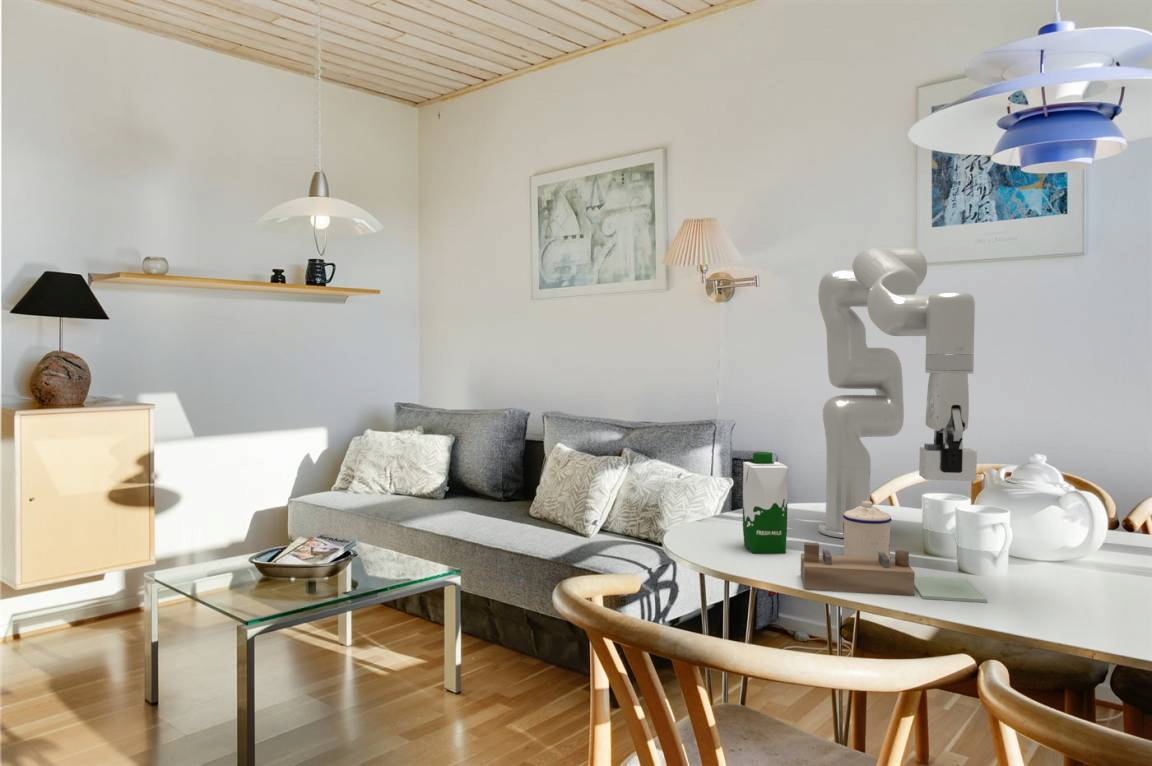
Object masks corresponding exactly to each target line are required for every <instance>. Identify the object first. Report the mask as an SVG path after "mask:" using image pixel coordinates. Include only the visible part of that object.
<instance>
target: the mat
mask: <svg viewBox="0 0 1152 766" xmlns="http://www.w3.org/2000/svg"><path fill="white" fill-rule="evenodd" d="M914 590H915V591H916V592H917V593H918V595H919V596H920V598H921V599H923V600H924V599H925V600H938V601H956V602H970V603H971V602H972V603H974V602H975V603H988V599H987V598H986V597H985V595H983V594H982V593H981V592H980V591H979V590H978V589H977V588H976V587H975V586H974V585H973V584H972V582H970V581H969V580H968V579H966V578H952V577H951V578H950V577H933V576H931V577H930V576H917V575H916V576H914Z"/></svg>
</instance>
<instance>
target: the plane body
mask: <svg viewBox="0 0 1152 766" xmlns="http://www.w3.org/2000/svg"><path fill="white" fill-rule="evenodd" d="M803 544H804V545H803V546H804V547H803V553H801V554H800V578H801V581H802V585H803V588H804V590H810V591H811V590H813V591H827V592H828V591H829V592H831V591H832V592H846V593H847V592H848V593H862V594H863V593H865V594H879V595H882V594H883V595H894V596H895V595H897V596H911V597H912V596H915V588H914V576H915V571H914V570H913V568H912V567H911V566H910V564H909V561H910V560H909V557H910V553H909V551H908V550H903V549H896V550H895V551H894V552H895V553H894V554H895V555H894V558H891V557H890V558H888V557H887V555H886V554H885V553H884V552H878V558H876V557H856V556H844V555H835V554H833V555H832V554H831V552H830V550H829V549H822V554H820V545H819V542H809V541H808V542H806V541H805V542H803Z"/></svg>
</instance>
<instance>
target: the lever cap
mask: <svg viewBox="0 0 1152 766" xmlns="http://www.w3.org/2000/svg"><path fill="white" fill-rule="evenodd" d="M942 449H944V444H934V443H924V446H920V447H919V462H918V463H919V470H918V472H919V473H918V474H919V476H920V477H922V478H923V479H924V480H926V481H927V480H928V481H958V482H962V481H963V482H977V465H978V464H977V460H978V459H977V458H978V451H976V450H973V449H971V448H966V447H965V448H964V447H963V448H962V449H963V454H962V472H961V473H947V472H942V471H941V450H942Z"/></svg>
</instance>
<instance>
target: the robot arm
mask: <svg viewBox="0 0 1152 766" xmlns="http://www.w3.org/2000/svg"><path fill="white" fill-rule="evenodd" d="M851 266H852V268H839V269H834V270H833V269H832V270H830V271H828V272H826V273H825V274H824V275H823V276H822V278H821V279H820V282H819V285H818V305H819V309H820V310H819V311H820V313H821V315H822V319H823V321H824V325H825V330H826V351H827V352H826V354H827V357H826V358H827V373H828V379H829V382H830V384H831V385H832V386H833V387H835V388H838V389H843V390H845V389H846V390H847V389H848V390H874V391H875V393H876V394H866V395H865V394H842V395H840V394H839V395H835V396H833V397H831V398H828V399H827V401H826V402H824V404H823V407H822V422H823V426H824V433H825V443H826V444H825V447H826V448H825V449H826V482H825V483H826V484H825V485H826V489H825V490H826V491H825V492H826V493H825V494H826V497H825V498H826V499H825V503H826V504H825V522H823V523H821V524H819V526H818V531H819V533H821V534H823V535H825V536H829V537H834V538H840V539H844V535H843V532H842V522H843V520H844V518H843V515H844V513H845V512H846V511H848V510H853V509H855V508H856V507H858V506H862V502H863V501H870V502H871V469H872V468H871V461H872V460H871V456H870V455H871V454H870V452H869V451H868V449H867V447H866V446H865V444H864V443H862V441H861V438H871V437H872V438H874V437H875V438H877V437H878V438H879V437H880V438H881V437H883V438H884V437H886V438H887V437H893V436H896V435H898V434H899V433H900V432H901V430H902V429H903V426H904V420H905V419H904V418H905V410H904V409H905V408H904V385H903V381H904V380H903V369H902V368H903V366H902V363H901V359H900V358H899V355H898V354H897V353H896V352H895V351H894V350H892V349H890V348H887V347H869V346H868V345H867V335H866V330H867V329H866V326H865V324H864V322H863V321H862V318H860V316H859V315H858V314H857V313H856V311H854V310H853V307H854V308H855V307H857V308H860V307H861V308H867V312H868V315H869V318H870V320H871V321H872V323H873V324H874V325H875V326H876V327H877V328H878V329H879V331H881V332H882V333H884V334H886V335H889V336H893V337H925V374H929V376H928V384H927V394H926V406H925V407H926V410H925V426H926V427H927V428H929V429H930V430H934V432H933V433H934V434H933V444H944V449H942V450H941V471H942V472H947V473H961V472H962V454H963V449H962V448H964V447H963V446H964V445H963V434H964V432H965V431H967V429H968V427H969V417H970V415H969V411H970V408H969V406H970V401H969V399H970V398H969V397H970V395H969V392H970V391H969V376H968V374H972V375H973V374H974V368H975V367H974V365H975V364H974V360H975V359H974V358H975V355H974V354H975V316H976V315H975V309H976V301H975V297H974V296H973V295H972V294H971V293H967V292H961V291H960V292H958V291H956V292H955V291H954V292H953V291H952V292H938V293H934V294H916V293H917V291H918V288H919V287H920V286H921V285H922V284H923V283H924V281H925V279H926V277H927V273H928V263H927V259H926V256H925V255H924V254H923V252H922V251H921V250H919V249H918V248H915V247H909V246H896V247H895V246H873V247H872V246H871V247H868V248H865V249H863V250H861V251H860V252H859V253H857V255H856V256H855V257H854V259H853V261H852V265H851ZM851 307H852V308H851Z"/></svg>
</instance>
